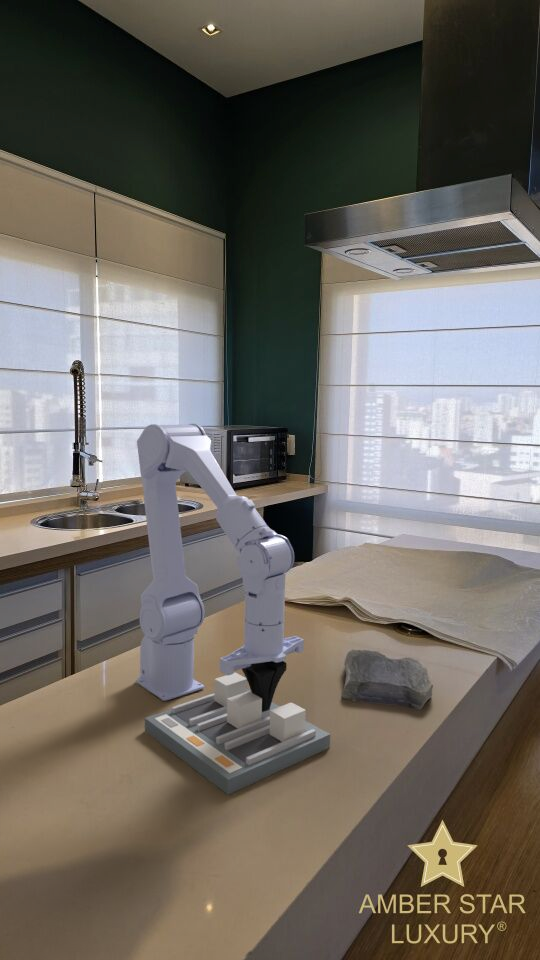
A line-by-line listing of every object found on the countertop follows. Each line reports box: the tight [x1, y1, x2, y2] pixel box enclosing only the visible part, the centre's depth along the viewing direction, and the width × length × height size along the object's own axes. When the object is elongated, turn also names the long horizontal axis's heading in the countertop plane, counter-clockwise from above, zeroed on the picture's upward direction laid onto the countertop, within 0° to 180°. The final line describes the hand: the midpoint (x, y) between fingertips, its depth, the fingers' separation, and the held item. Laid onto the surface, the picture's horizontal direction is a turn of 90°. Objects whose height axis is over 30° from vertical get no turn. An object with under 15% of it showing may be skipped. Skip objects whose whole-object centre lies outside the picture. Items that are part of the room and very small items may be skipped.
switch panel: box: [144, 688, 331, 796], centre depth 95 cm, size 20×18×3 cm
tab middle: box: [227, 691, 262, 729], centre depth 96 cm, size 3×4×4 cm
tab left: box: [213, 671, 248, 707], centre depth 102 cm, size 3×4×4 cm
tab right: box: [269, 701, 307, 742], centre depth 93 cm, size 3×4×4 cm
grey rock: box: [341, 649, 434, 711], centre depth 114 cm, size 15×16×4 cm
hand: (262, 708), depth 98 cm, fingers closed
